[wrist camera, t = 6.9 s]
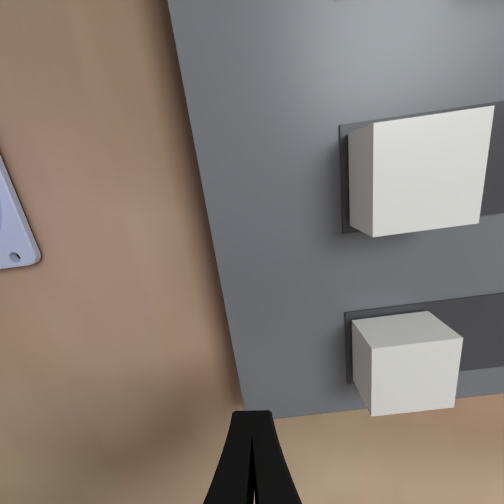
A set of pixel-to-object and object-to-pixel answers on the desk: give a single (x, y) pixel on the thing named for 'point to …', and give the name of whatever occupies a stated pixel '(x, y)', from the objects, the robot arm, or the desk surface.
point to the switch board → (337, 182)
